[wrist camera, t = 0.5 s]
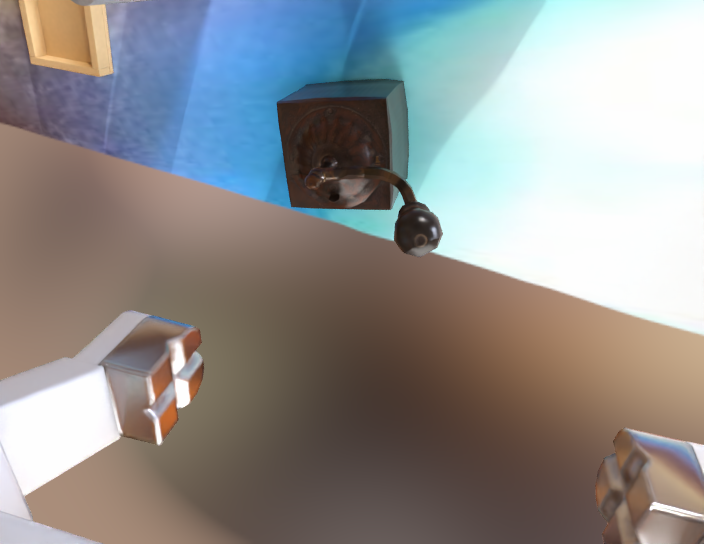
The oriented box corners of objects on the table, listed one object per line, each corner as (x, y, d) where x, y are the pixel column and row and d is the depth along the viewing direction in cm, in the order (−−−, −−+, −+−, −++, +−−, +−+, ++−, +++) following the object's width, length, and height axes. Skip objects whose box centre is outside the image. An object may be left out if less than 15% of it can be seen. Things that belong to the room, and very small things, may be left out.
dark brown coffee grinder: (317, 183, 58) (254, 258, 43) (305, 81, 53) (228, 125, 38) (456, 184, 54) (440, 266, 39) (458, 74, 49) (440, 120, 34)
